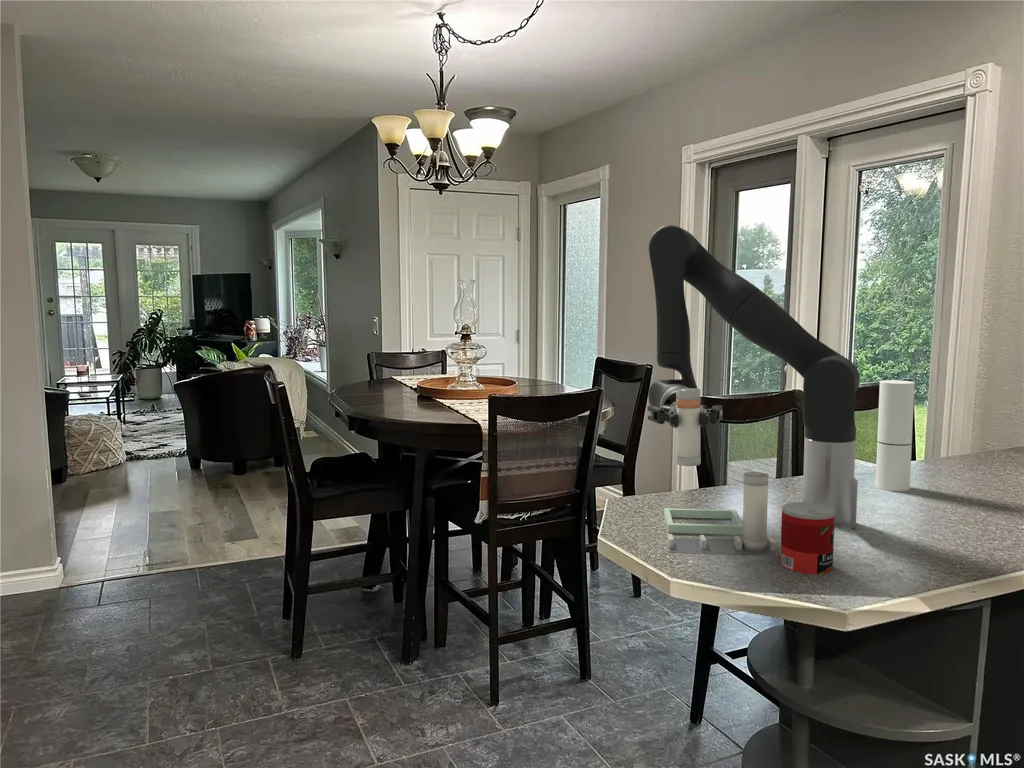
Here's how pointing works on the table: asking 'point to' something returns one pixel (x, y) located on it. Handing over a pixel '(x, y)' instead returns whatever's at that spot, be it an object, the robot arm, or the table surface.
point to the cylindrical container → (894, 435)
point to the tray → (703, 528)
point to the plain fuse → (755, 511)
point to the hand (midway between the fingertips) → (690, 420)
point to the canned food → (807, 537)
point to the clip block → (716, 546)
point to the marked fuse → (688, 426)
